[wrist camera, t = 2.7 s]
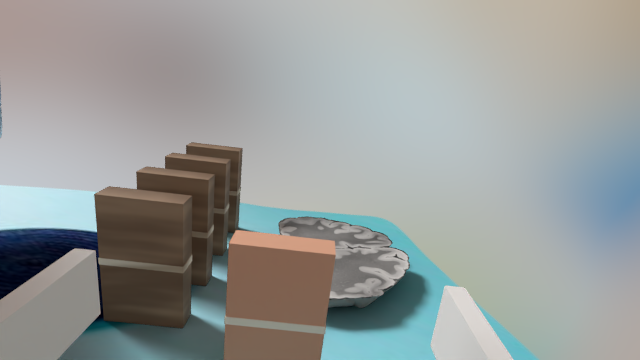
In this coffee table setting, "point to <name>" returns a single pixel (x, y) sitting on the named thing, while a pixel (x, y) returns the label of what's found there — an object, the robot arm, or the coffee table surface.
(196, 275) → the domino
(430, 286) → the coffee table surface
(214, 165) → the domino
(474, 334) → the robot arm
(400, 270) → the brain slice
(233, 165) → the domino
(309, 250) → the domino
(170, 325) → the domino
